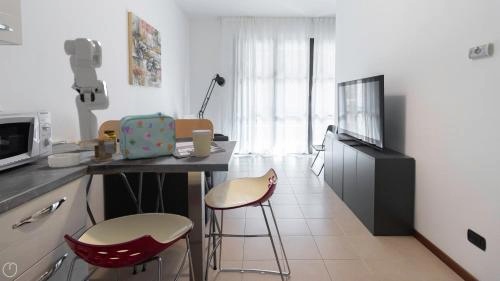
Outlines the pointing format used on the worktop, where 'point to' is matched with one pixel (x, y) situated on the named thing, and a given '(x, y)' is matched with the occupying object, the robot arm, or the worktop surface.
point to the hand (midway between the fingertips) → (87, 101)
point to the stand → (101, 152)
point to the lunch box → (147, 135)
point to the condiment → (112, 135)
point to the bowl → (64, 160)
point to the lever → (108, 144)
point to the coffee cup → (202, 142)
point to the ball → (105, 137)
